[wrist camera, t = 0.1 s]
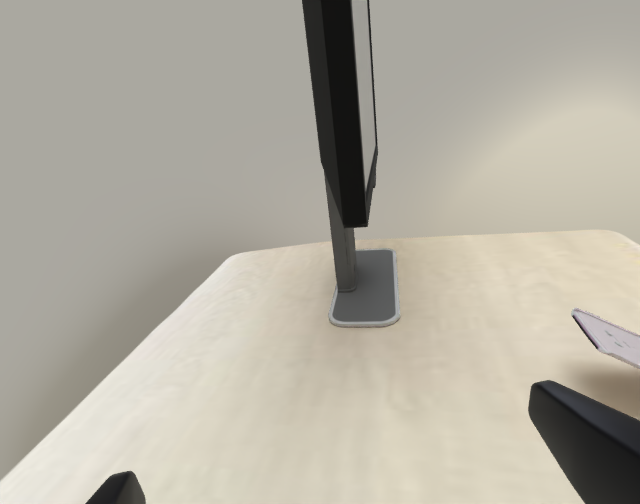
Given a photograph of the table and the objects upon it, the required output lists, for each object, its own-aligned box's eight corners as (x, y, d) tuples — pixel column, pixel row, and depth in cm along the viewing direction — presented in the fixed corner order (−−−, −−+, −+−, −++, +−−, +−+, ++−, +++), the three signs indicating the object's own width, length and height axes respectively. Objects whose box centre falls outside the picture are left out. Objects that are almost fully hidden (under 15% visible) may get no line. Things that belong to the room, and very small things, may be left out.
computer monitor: (405, 386, 31) (378, -292, 16) (311, 383, 33) (210, -234, 18) (394, 230, 68) (383, -21, 54) (350, 233, 70) (328, -10, 55)
